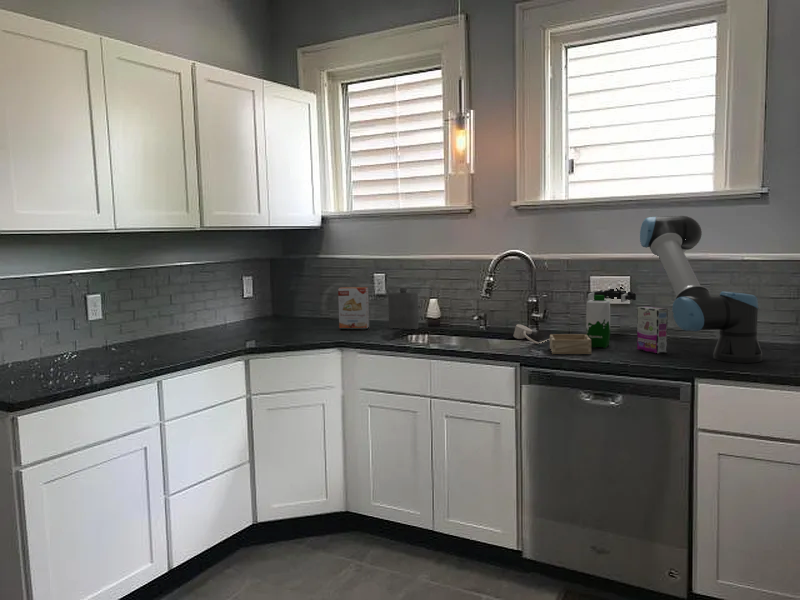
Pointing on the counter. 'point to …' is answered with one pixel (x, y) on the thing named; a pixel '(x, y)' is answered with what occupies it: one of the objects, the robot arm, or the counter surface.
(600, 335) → the soya milk
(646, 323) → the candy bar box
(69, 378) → the counter surface
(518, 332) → the toilet paper hanger
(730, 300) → the robot arm
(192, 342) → the counter surface
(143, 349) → the counter surface
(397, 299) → the flask
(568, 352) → the caddy
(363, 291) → the cracker box
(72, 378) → the counter surface
